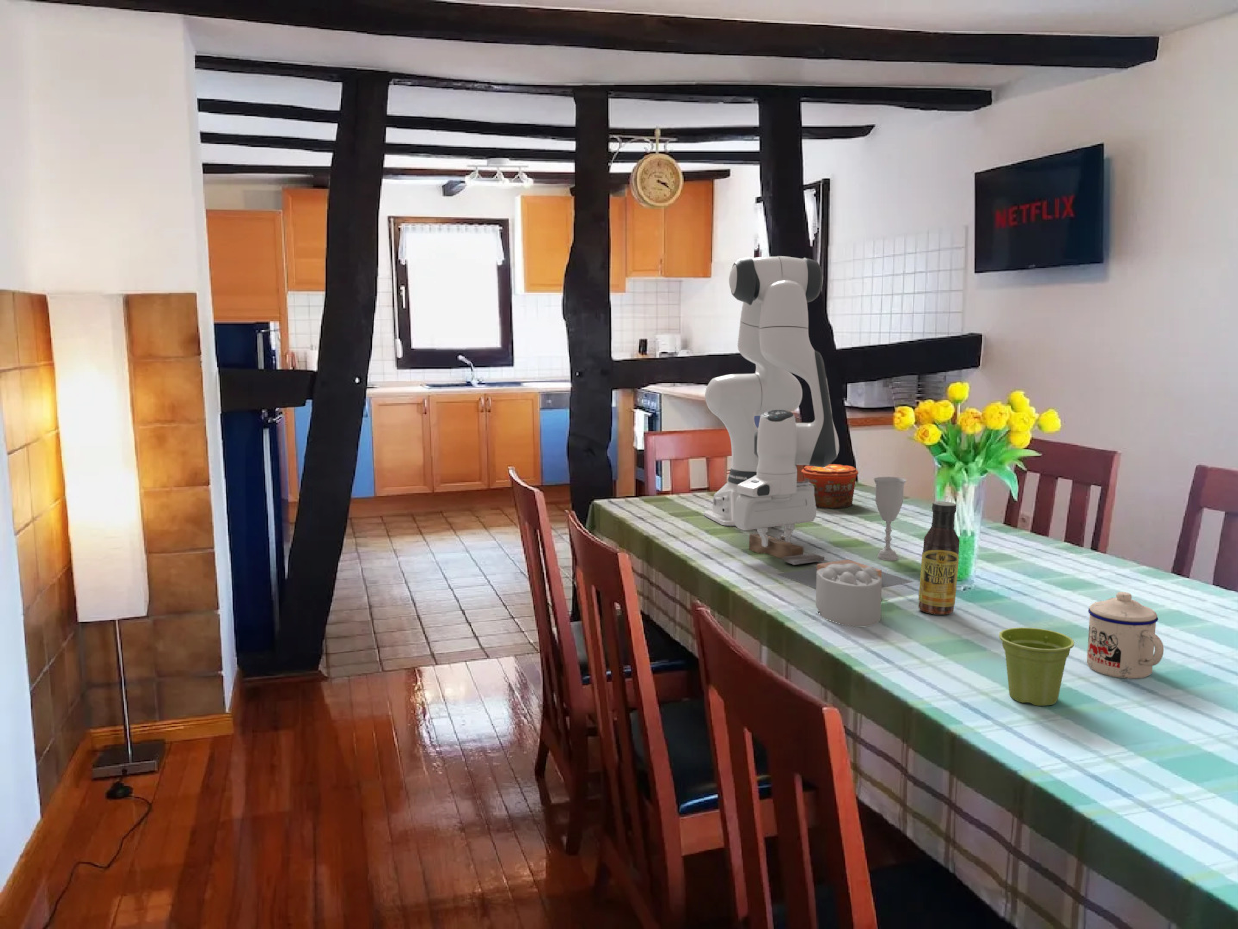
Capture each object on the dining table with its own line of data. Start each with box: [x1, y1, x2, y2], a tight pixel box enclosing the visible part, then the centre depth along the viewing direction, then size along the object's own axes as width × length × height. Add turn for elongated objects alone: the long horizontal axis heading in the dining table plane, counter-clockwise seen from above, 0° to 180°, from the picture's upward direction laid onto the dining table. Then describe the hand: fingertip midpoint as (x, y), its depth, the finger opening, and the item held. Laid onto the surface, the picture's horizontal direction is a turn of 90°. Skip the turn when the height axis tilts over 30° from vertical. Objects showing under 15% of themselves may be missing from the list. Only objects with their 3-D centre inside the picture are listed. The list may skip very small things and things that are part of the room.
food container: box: [800, 463, 859, 509], centre depth 267 cm, size 16×16×11 cm
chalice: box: [873, 476, 907, 561], centre depth 202 cm, size 7×7×18 cm
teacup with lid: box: [1086, 591, 1165, 680], centre depth 136 cm, size 12×9×12 cm
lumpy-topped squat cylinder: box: [815, 563, 883, 627], centre depth 165 cm, size 10×13×9 cm
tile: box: [816, 559, 883, 578], centre depth 186 cm, size 2×8×10 cm
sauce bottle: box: [918, 501, 960, 616], centre depth 166 cm, size 6×6×20 cm
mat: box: [777, 567, 914, 590], centre depth 188 cm, size 18×20×1 cm
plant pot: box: [998, 627, 1075, 707], centre depth 128 cm, size 9×9×9 cm
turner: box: [748, 532, 825, 566], centre depth 206 cm, size 20×8×4 cm, turn 27°
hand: (775, 545), depth 208 cm, fingers open, 4 cm apart
